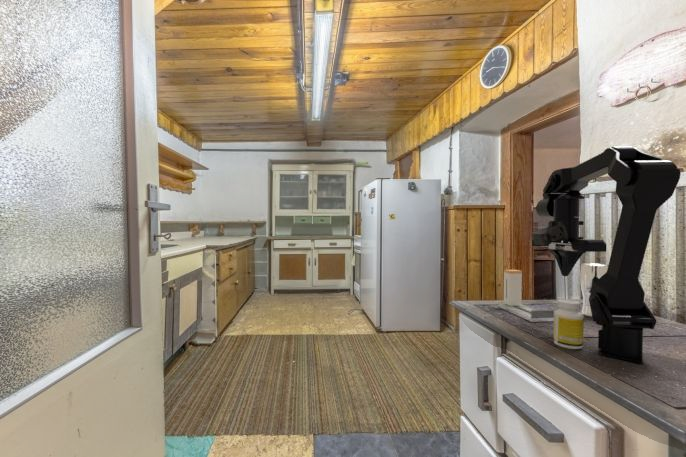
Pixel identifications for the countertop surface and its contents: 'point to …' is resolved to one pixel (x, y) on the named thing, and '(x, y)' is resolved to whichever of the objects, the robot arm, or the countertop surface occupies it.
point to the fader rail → (529, 313)
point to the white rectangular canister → (512, 287)
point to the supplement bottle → (568, 325)
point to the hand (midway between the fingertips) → (564, 275)
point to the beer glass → (589, 282)
